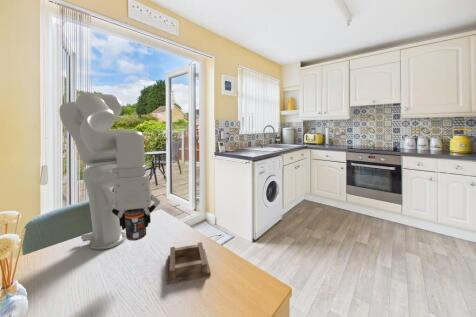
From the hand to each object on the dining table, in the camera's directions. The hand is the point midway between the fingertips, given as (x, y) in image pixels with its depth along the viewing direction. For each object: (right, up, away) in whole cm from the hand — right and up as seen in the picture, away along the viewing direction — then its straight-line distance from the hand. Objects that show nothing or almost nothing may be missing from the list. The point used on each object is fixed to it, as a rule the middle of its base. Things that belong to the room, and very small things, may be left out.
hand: (135, 226), depth 67 cm
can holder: (+16, -14, +3) cm, 22 cm away
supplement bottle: (0, -4, +1) cm, 4 cm away
